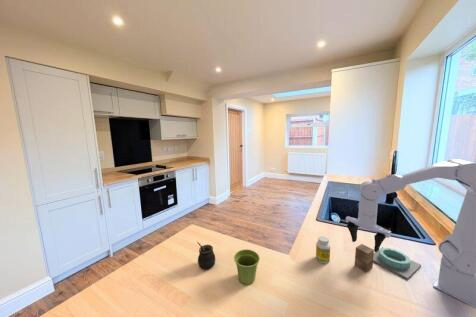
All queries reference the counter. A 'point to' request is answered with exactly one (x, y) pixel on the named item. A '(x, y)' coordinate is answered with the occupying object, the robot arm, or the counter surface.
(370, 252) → the walnut peg
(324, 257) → the supplement bottle
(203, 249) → the mate gourd
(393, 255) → the collar
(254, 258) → the plant pot
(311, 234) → the counter surface
